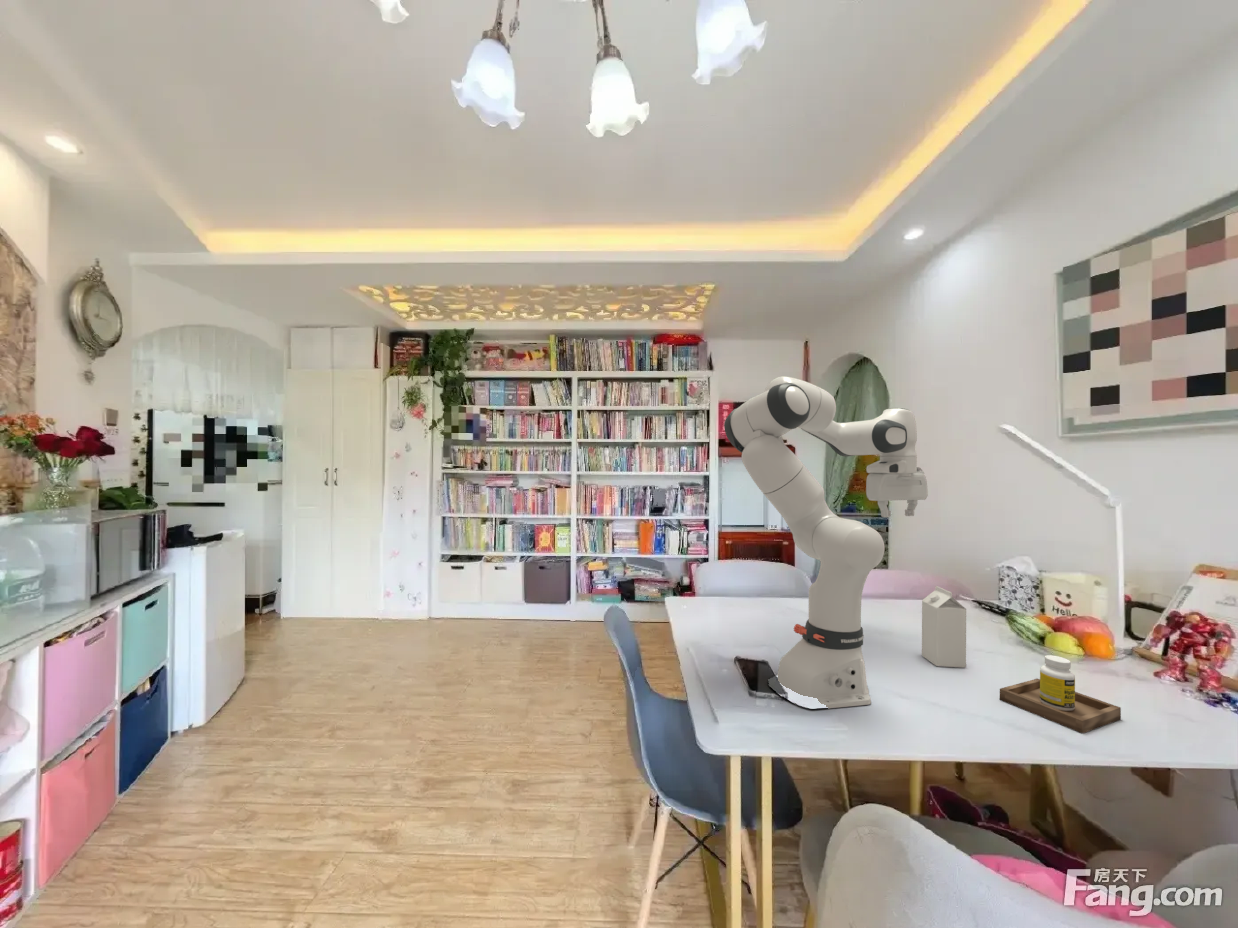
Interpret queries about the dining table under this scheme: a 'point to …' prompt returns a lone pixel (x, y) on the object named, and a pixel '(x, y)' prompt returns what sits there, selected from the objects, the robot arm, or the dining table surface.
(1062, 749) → the dining table surface
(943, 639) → the milk carton
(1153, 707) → the dining table surface
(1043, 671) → the supplement bottle
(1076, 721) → the tray
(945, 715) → the dining table surface
